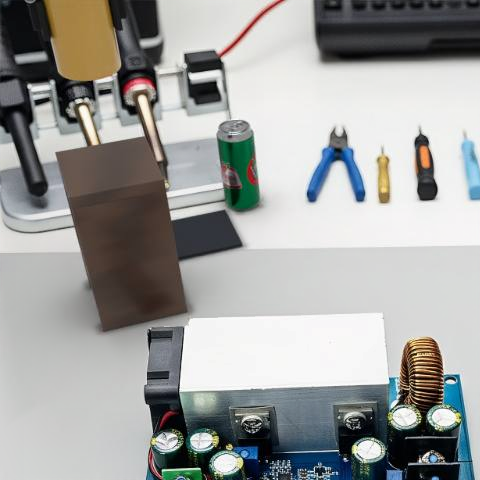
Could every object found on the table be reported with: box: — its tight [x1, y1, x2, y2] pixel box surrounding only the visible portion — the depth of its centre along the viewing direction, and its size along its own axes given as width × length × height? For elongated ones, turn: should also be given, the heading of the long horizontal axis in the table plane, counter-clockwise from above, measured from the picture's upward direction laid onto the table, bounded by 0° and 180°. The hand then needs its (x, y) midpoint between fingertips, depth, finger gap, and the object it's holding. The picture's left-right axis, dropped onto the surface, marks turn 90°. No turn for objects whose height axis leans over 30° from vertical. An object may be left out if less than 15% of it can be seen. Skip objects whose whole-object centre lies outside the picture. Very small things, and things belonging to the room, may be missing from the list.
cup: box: [42, 0, 122, 82], centre depth 103 cm, size 7×7×9 cm
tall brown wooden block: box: [54, 135, 188, 332], centre depth 120 cm, size 10×10×19 cm
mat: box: [171, 209, 243, 261], centre depth 136 cm, size 9×9×1 cm
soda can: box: [215, 118, 261, 211], centre depth 138 cm, size 5×5×12 cm
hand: (81, 29), depth 103 cm, fingers closed on cup, 6 cm apart
